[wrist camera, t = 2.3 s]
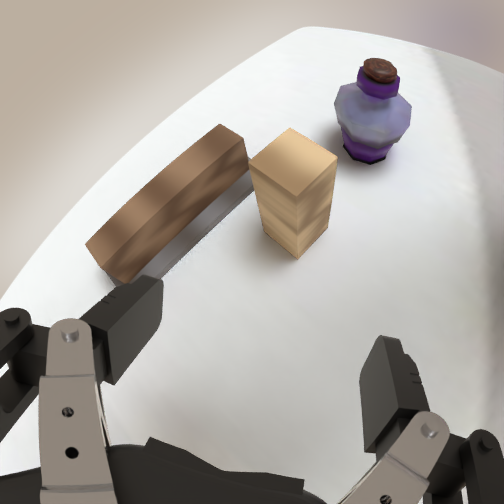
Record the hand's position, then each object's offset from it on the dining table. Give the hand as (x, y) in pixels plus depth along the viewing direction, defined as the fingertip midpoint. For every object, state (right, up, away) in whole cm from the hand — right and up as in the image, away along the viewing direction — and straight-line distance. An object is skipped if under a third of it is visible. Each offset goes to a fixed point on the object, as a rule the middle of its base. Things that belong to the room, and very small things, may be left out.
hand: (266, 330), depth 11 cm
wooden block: (+4, +5, +20) cm, 21 cm away
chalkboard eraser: (-8, +6, +23) cm, 25 cm away
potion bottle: (+13, +15, +24) cm, 31 cm away
